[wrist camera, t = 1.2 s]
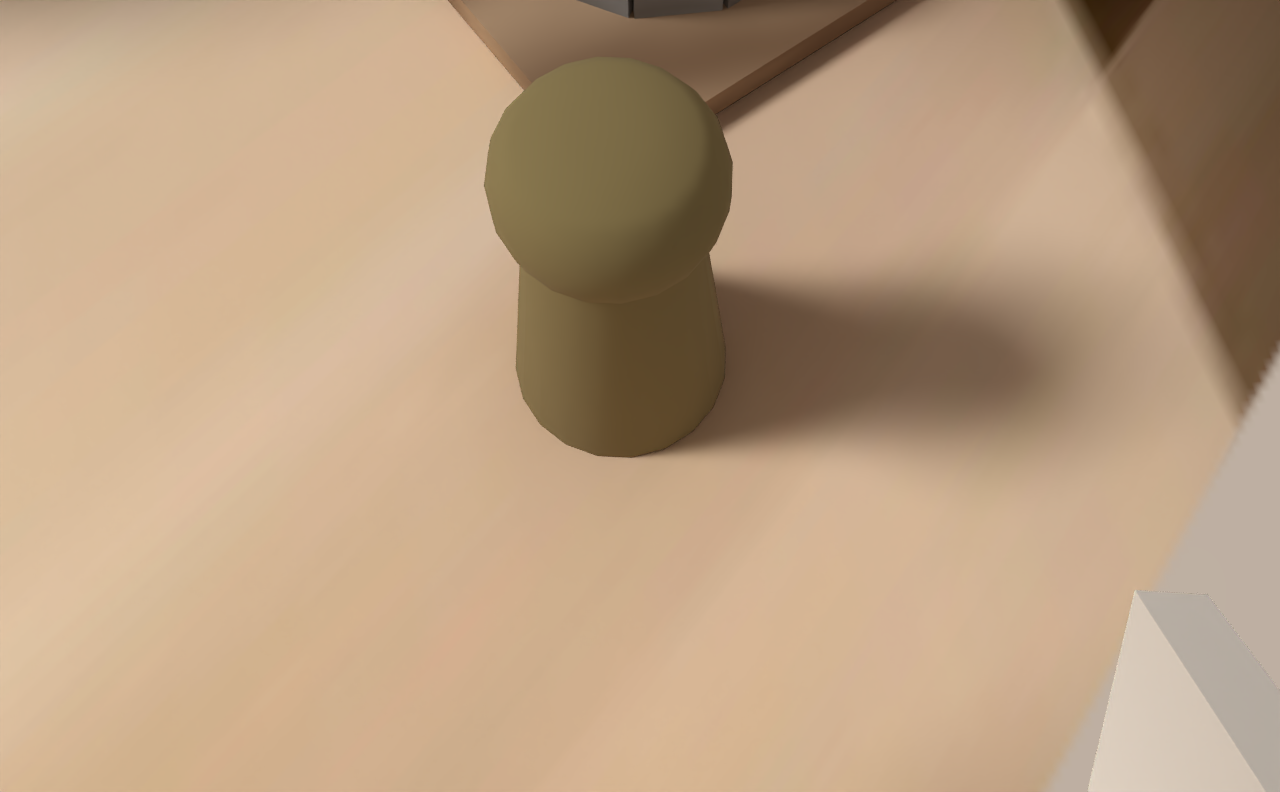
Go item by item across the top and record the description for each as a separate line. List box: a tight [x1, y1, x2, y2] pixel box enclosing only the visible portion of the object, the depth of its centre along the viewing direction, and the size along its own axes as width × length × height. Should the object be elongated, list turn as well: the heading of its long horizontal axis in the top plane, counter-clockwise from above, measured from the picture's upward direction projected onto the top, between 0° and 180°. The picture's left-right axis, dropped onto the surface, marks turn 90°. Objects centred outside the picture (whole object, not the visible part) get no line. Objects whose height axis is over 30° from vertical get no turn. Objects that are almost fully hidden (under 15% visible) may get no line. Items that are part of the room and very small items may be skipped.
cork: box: [484, 57, 733, 457], centre depth 27 cm, size 6×6×11 cm
